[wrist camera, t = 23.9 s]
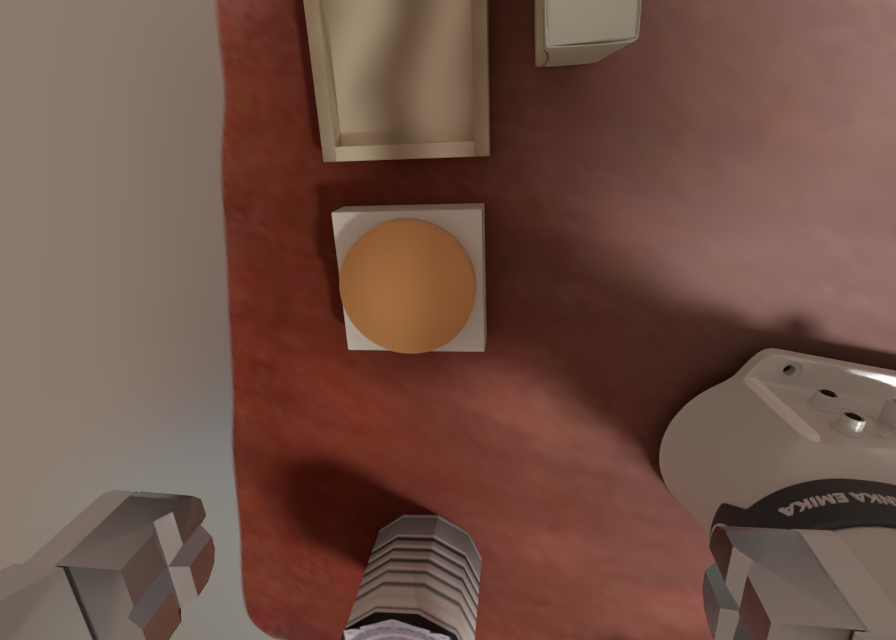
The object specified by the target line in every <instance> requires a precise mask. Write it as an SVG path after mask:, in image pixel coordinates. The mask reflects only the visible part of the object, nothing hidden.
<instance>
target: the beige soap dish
mask: <svg viewBox="0 0 896 640" xmlns="http://www.w3.org/2000/svg"><path fill="white" fill-rule="evenodd" d="M303 1H304V9H305V17H306V25H307V33H308V41H309V49H310V57H311V65H312V73H313V81H314V89H315V97H316V105H317V114H318V122H319V130H320V138H321V146H322V154H323V162H339V161H366V160H393V159H420V158H447V157H474V156H489V155H490V89H489V12H488V0H303Z"/></svg>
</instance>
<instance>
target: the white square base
mask: <svg viewBox="0 0 896 640" xmlns="http://www.w3.org/2000/svg"><path fill="white" fill-rule="evenodd" d="M401 218H413V219H420V220H424V221H427V222H431V223H433V224H435V225H437V226H439V227H441V228H443V229H444V230H446V231H448V232H449V233H450V234H451V235H452V236H454V237H455V238H456V239H457V240H458V241H459V243H460V244H461V245H462V246H463V248H464V249H465V250H466V252H467V254H468V256H469V258H470V260H471V262H472V265H473V268H474V272H475V277H476V295H475V300H474V304H473V308H472V311H471V314H470V317H469V319H468V321H467V323H466V325H465V326H464V327H463V329H462V330H461V331H460V333H459V334H458V335H457V336H456V337H455V338H454V339H452V340H451V341H450V342H448V343H447V344H445V345H444V346H442V347H440V348H437V349H435V350H432V351H464V352H484V351H485V344H486V338H487V326H486V269H485V212H484V203H461V204H420V205H379V206H344V207H342V208H340V209H338V210H336V211H334V212H332V221H333V229H334V238H335V246H336V254H337V262H338V270H339V278H340V271H341V266H342V263H343V261H344V258H345V256H346V254H347V252H348V251H349V249H350V248H351V246H352V245H353V244H354V243H355V242H356V241H357V240H358V239H359V238H360V237H361V236H362V235H364V234H365V233H366V232H368V231H369V230H371V229H372V228H373V227H375V226H377V225H379V224H381V223H384V222H386V221H390V220H394V219H401ZM343 310H344V319H345V327H346V335H347V343H348V350H388V349H385V348H383V347H381V346H378V345H377V344H375V343H373V342H372V341H370V340H369V339H368V338H366V337H365V336H364V335H363V334H362V333H361V332H360V331H359V330H358V329H357V328H356V327H355V326H354V324H353V323H352V322H351V320H350V319H349V317H348V315H347V313H346V311H345V309H344V307H343Z"/></svg>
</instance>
